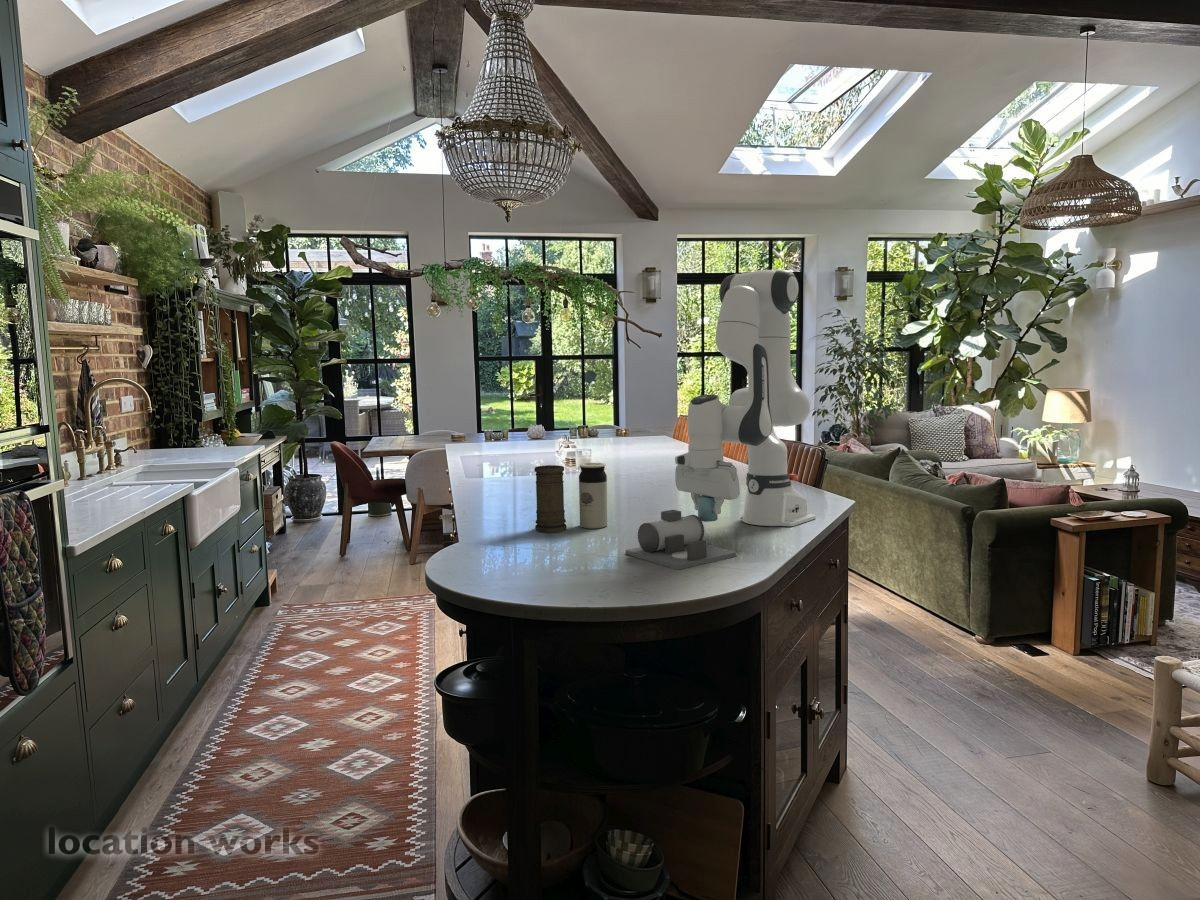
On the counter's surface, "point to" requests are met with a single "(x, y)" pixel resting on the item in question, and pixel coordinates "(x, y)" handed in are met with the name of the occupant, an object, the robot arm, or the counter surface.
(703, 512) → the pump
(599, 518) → the travel mug
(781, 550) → the counter surface
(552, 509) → the container
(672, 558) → the motor unit
